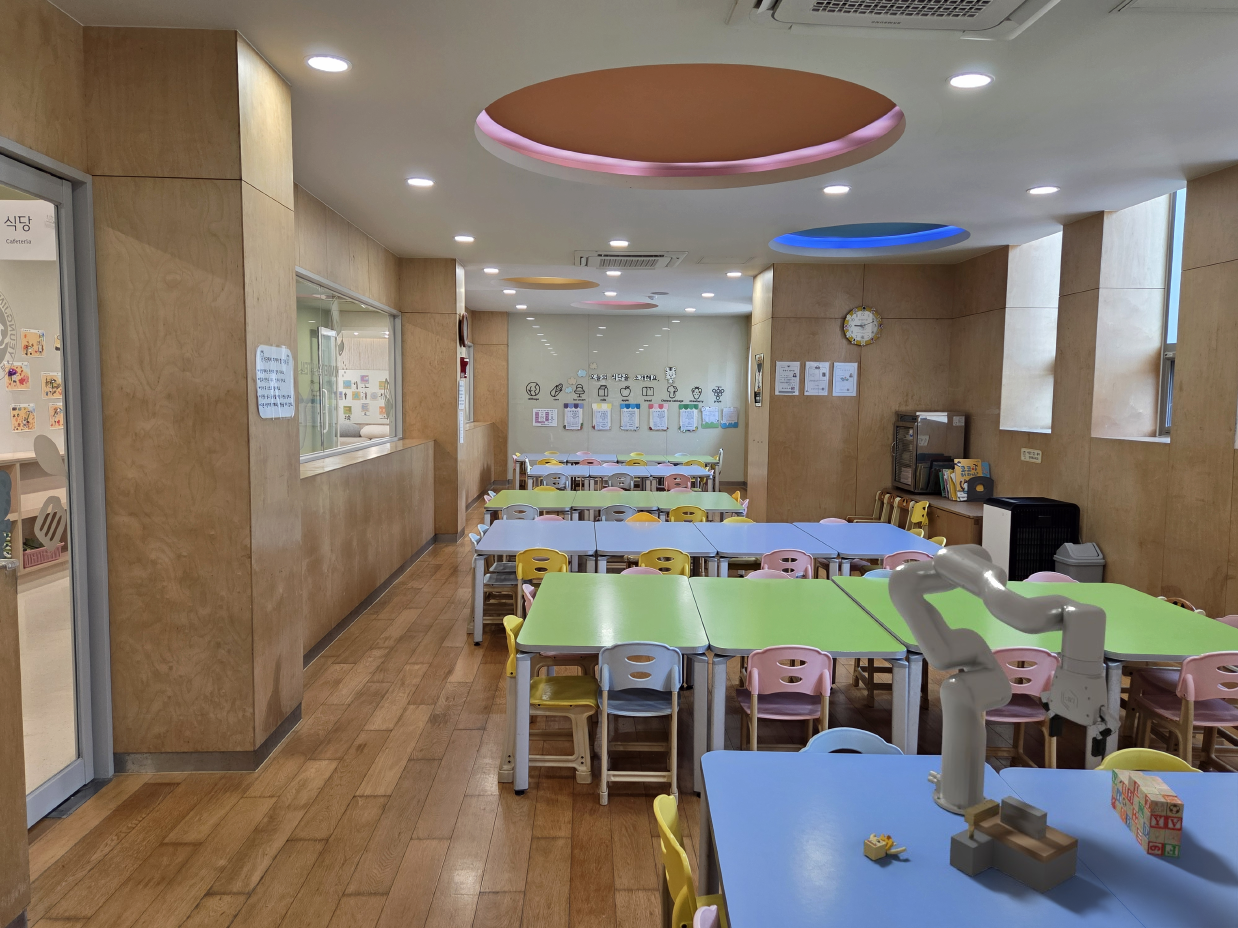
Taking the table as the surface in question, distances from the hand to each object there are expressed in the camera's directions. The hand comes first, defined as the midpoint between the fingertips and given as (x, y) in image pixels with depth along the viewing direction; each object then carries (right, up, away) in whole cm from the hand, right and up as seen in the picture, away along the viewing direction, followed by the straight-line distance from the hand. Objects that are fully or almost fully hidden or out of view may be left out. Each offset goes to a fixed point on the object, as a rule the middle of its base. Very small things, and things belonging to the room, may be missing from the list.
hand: (1076, 745), depth 162 cm
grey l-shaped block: (-14, -25, -1) cm, 29 cm away
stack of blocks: (+24, -25, +15) cm, 37 cm away
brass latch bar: (-19, -18, +1) cm, 26 cm away
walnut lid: (-11, -19, 0) cm, 22 cm away
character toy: (-38, -25, +4) cm, 45 cm away
